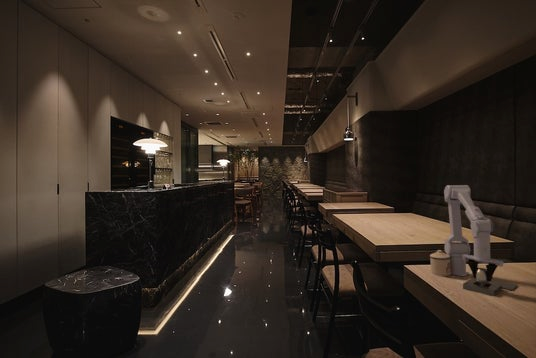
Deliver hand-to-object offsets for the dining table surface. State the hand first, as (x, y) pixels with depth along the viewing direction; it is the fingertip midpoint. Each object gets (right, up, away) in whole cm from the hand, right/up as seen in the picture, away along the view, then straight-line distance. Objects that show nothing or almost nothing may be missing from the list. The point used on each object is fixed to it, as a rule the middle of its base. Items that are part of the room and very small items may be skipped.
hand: (482, 279), depth 128 cm
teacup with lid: (-4, -5, +23) cm, 24 cm away
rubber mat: (+11, -4, +4) cm, 13 cm away
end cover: (0, -3, 0) cm, 3 cm away
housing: (0, -4, 0) cm, 4 cm away
